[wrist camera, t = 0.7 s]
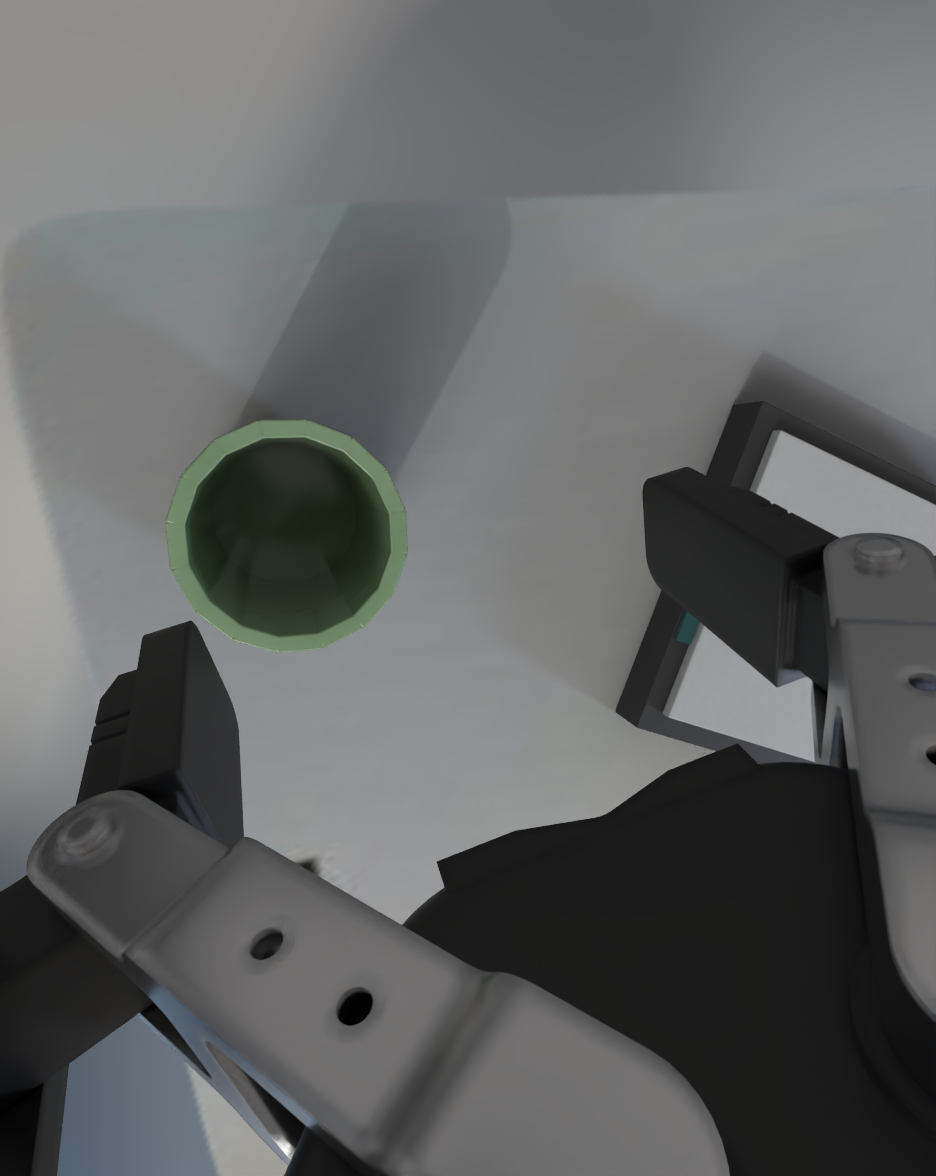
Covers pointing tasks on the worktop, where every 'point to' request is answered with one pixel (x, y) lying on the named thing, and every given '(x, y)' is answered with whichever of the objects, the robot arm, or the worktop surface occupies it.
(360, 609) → the tumbler
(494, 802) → the worktop surface
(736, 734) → the scale
